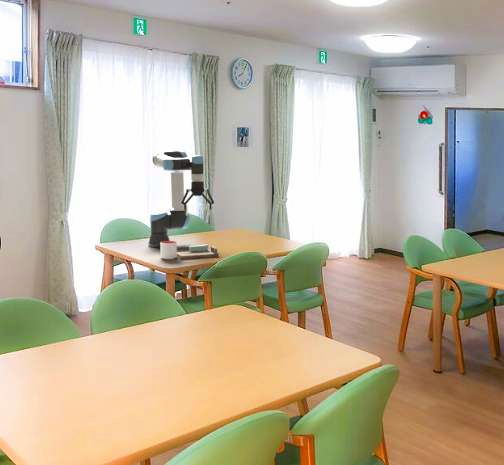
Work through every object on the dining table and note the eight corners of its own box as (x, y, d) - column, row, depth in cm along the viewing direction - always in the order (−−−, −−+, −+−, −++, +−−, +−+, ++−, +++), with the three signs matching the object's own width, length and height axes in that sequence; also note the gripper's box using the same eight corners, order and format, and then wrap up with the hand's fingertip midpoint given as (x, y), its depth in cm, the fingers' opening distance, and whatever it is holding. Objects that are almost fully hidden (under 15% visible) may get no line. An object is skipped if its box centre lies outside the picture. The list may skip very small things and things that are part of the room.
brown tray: (175, 255, 393) (174, 247, 393) (211, 252, 402) (211, 244, 401) (181, 259, 380) (181, 251, 379) (218, 256, 389) (218, 248, 388)
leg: (207, 249, 400) (207, 244, 399) (209, 250, 397) (208, 244, 397) (189, 250, 395) (189, 245, 395) (190, 251, 393) (190, 246, 392)
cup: (173, 260, 378) (173, 243, 377) (158, 259, 380) (158, 243, 379) (179, 256, 388) (178, 241, 387) (163, 256, 390) (163, 240, 388)
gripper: (177, 181, 376) (177, 216, 380) (218, 181, 380) (218, 215, 384) (176, 180, 383) (177, 214, 387) (217, 180, 387) (217, 213, 391)
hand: (197, 215), depth 385 cm, fingers open, 13 cm apart
